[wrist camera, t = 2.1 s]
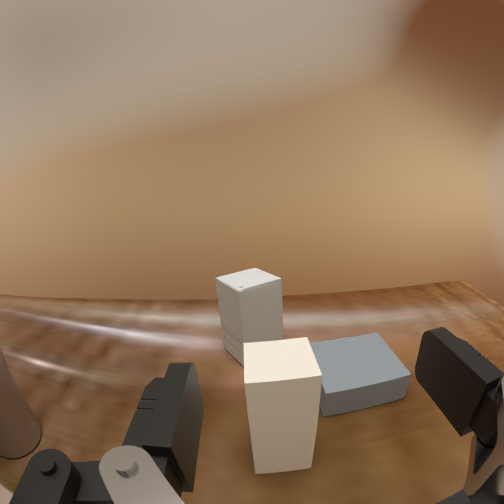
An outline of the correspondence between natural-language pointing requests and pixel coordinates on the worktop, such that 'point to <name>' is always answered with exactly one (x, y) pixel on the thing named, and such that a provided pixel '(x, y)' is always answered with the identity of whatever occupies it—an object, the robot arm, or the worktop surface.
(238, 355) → the supplement box
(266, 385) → the cream block
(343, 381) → the plinth
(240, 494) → the worktop surface
